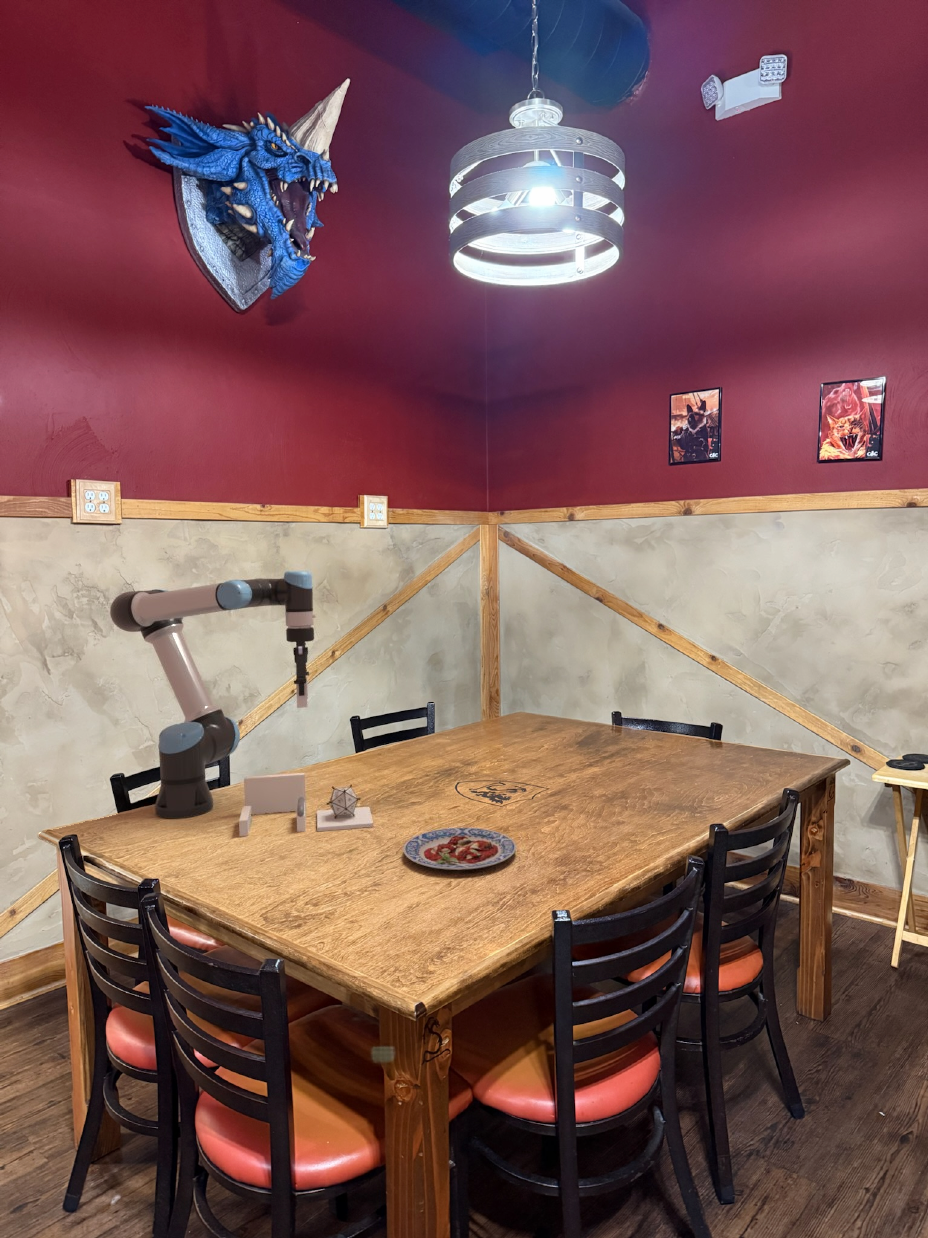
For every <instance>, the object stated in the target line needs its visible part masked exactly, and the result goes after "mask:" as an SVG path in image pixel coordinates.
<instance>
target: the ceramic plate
mask: <svg viewBox="0 0 928 1238" xmlns="http://www.w3.org/2000/svg"><path fill="white" fill-rule="evenodd" d="M516 848H517V845H516V843H515V841H514V840H513V839H512V838H510V836H507V835H506V834H503V833H501V832H498V831H494V830H491V829H486V828H477V827H460V826H459V827H448V828H440V829H435V830H429V831H426V832H423V833H420V834H417V835H415V836H413V837H412V838H410V839H409V840H408V841H406V842H405V844H404V845H403V848H402V849H403V853H404V855H405V856H406V858H407V859H409V860H410V861H412V862H414V863H416V864H419V865H422V866H425V867H429V868H432V869H442V870H455V871H456V870H458V871H460V870H474V869H481V868H487V867H490V866H494V865H497V864H500V863H502V862H504V861H506V860H508V859H510V858H511V857H512V856H513V855H514V854H515V853H516V850H517V849H516Z"/></svg>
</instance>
